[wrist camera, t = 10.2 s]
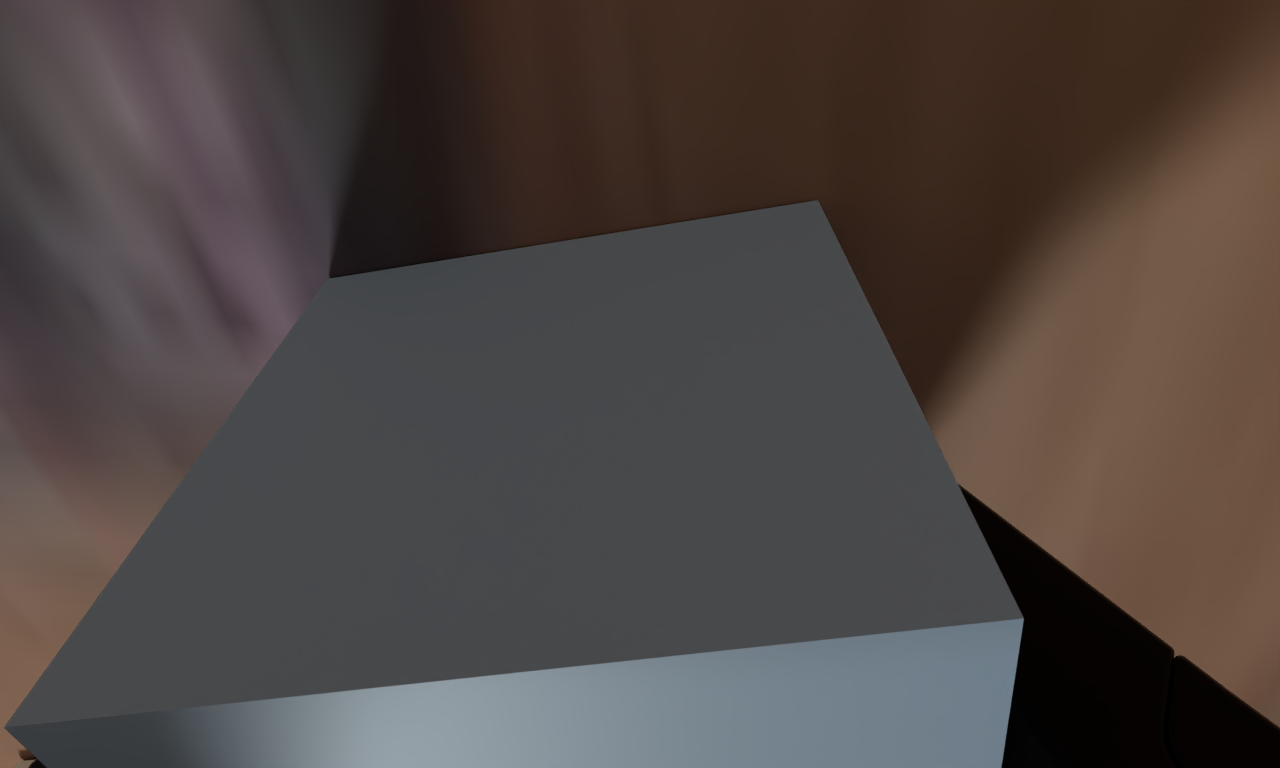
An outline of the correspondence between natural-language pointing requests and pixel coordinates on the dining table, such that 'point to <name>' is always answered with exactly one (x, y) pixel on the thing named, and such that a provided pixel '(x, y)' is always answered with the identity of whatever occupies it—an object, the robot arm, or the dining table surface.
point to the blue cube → (559, 534)
